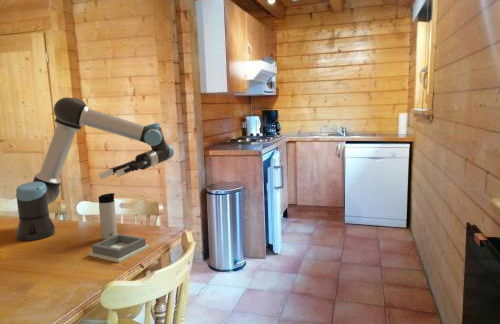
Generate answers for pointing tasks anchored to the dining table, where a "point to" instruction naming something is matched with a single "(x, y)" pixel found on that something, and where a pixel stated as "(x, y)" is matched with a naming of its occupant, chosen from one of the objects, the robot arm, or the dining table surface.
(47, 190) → the robot arm
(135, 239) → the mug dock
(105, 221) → the travel mug
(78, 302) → the dining table surface
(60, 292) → the dining table surface
